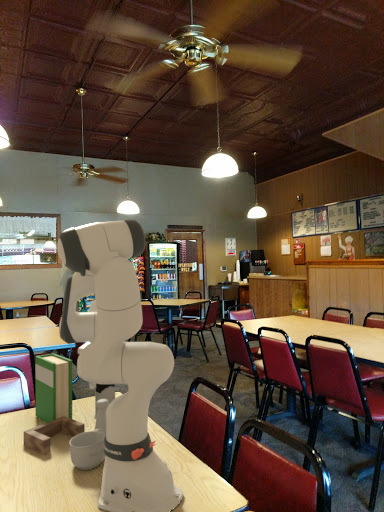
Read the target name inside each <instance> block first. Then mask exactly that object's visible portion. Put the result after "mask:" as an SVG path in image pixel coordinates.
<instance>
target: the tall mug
mask: <svg viewBox="0 0 384 512" xmlns="http://www.w3.org/2000/svg"><path fill="white" fill-rule="evenodd" d="M115 385H116V384H97V383H96V388H94V389H92V390H93V394H94V399H95V401H94V404H95V405H94V407H95V408H94V409H95V413H94V417H93V418H94V419H95V420H96V418H97V412H98V408H97V406H96V403H97V401H98V400H100V399H107V400H108V401H109V404H110V402H111V401H113V400H114V399H116V387H115Z"/></svg>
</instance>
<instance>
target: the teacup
mask: <svg viewBox="0 0 384 512" xmlns="http://www.w3.org/2000/svg"><path fill="white" fill-rule="evenodd" d="M105 436H106V434H105V433H104V432H101V430H100V429H95V428H94V430H89V431H85V432H84V433H81V434H78V435H76V436H74V437H71V439H70V440H69V443H68V444H69V452H70V453H69V454H70V460H71V463H72V464H73V466H74V467H76V468H77V469H80V470H84V471H85V470H86V471H87V470H91V469H95V468H97V467H98V466H99V465H101V463H102V462H103V461H105V456H106V455H105V453H104V438H105Z"/></svg>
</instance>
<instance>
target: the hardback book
mask: <svg viewBox="0 0 384 512" xmlns="http://www.w3.org/2000/svg"><path fill="white" fill-rule="evenodd" d="M36 416H37V417H36ZM63 416H65V417H68V418H70V419H73V360H72V359H70V358H67V357H65V356H61V355H59V354H56V353H48V354H41V355H40V354H39V355H35V417H36V418H38V419H39V418H40V419H39V420H40V421H42V422H43V421H44V424H45V423H48V422H50V421H53V420H56V419H58V418H61V417H63Z"/></svg>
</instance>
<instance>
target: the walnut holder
mask: <svg viewBox="0 0 384 512" xmlns="http://www.w3.org/2000/svg"><path fill="white" fill-rule="evenodd" d="M84 432H86V430H85V423H84V422H82V421H78V420H75V419H73V418H72V419H70V418H68V417H65V416H63V417H61V418H58V419H56V420H53V421H50V422H48V423H45V422H44V423H43V424H40V425H38V426H35V427H31V428H30V429H27V430H24V431H23V446H25V447H27V448H29V449H30V450H33V451H35V452H37V453H38V454H41V455H43V456H45V455H47V454H49V453H51V452H52V451H51V450H52V449H51V446H52V445H51V442H52V441H51V440H52V439H51V437H53V436H56V435H58V434H61V433H63V434H65V435H68V436H70V437H71V438H73V437H74V436H76V435H78V434H81V433H84Z"/></svg>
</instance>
